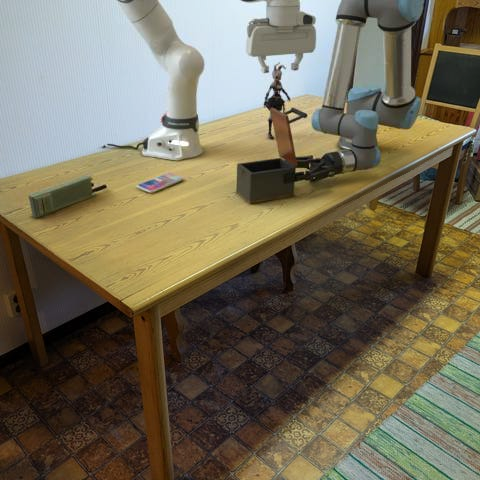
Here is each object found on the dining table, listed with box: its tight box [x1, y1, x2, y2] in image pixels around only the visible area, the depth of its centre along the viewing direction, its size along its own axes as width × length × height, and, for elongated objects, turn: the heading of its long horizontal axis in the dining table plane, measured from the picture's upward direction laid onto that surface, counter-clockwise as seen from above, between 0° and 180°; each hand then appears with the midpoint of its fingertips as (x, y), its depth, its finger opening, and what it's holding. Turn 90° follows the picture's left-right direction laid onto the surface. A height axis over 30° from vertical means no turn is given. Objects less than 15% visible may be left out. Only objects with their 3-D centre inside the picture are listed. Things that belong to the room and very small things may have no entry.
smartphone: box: [136, 172, 184, 194], centre depth 164 cm, size 7×1×15 cm
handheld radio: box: [28, 173, 108, 219], centre depth 150 cm, size 7×3×25 cm
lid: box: [269, 107, 308, 166], centre depth 153 cm, size 16×9×8 cm
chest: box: [235, 157, 297, 205], centre depth 156 cm, size 15×9×10 cm, turn 116°
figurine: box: [263, 61, 291, 140], centre depth 201 cm, size 15×6×30 cm, turn 132°
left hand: (280, 71), depth 141 cm, fingers open, 8 cm apart
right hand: (276, 173), depth 157 cm, fingers closed on chest, 9 cm apart
